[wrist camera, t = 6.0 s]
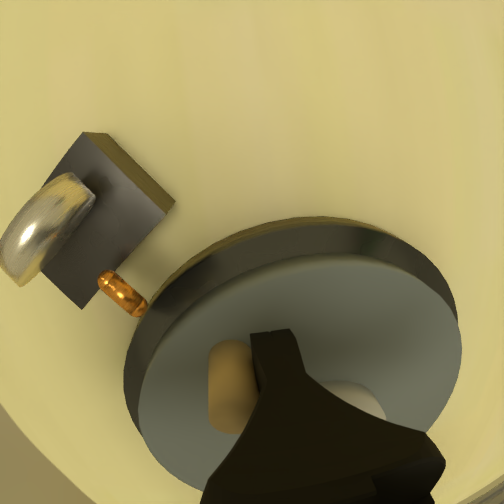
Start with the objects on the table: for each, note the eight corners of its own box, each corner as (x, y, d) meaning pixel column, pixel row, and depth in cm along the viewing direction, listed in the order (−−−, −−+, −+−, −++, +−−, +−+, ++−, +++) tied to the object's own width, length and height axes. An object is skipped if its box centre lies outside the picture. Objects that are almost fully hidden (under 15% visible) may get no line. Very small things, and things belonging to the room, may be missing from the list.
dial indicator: (203, 228, 13) (193, 294, 7) (127, 305, 14) (85, 397, 8) (106, 133, 11) (27, 130, 6) (39, 222, 12) (-46, 272, 6)
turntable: (362, 166, 11) (437, 183, 7) (469, 381, 16) (506, 423, 12) (80, 392, 13) (52, 461, 9) (274, 504, 18) (284, 553, 14)
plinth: (473, 353, 18) (485, 365, 16) (280, 493, 20) (283, 508, 19) (329, 127, 12) (342, 125, 11) (70, 380, 15) (61, 397, 13)
